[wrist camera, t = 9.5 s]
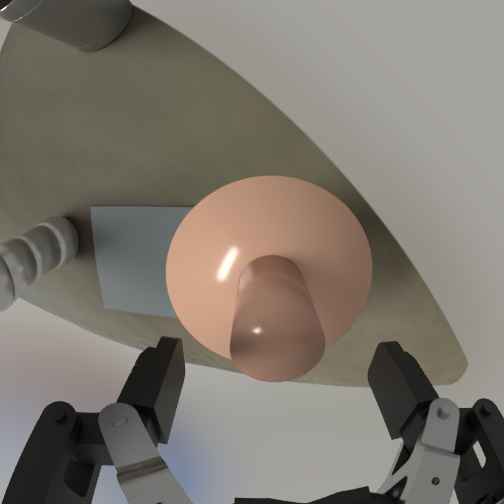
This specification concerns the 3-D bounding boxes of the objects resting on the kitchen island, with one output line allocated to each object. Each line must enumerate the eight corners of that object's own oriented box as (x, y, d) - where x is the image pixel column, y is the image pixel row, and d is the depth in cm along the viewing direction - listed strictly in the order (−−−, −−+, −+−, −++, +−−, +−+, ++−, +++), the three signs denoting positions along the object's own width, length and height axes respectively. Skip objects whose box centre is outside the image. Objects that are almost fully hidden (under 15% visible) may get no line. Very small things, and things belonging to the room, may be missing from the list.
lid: (167, 172, 15) (108, 185, 9) (380, 185, 15) (448, 207, 9) (178, 350, 20) (154, 420, 13) (345, 355, 20) (371, 423, 13)
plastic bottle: (50, 208, 29) (-65, 260, 10) (86, 218, 29) (-37, 285, 11) (49, 251, 31) (-49, 320, 12) (84, 264, 31) (-17, 350, 13)
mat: (91, 206, 29) (90, 206, 28) (200, 207, 29) (199, 207, 29) (105, 306, 34) (104, 308, 33) (202, 318, 34) (201, 320, 33)
